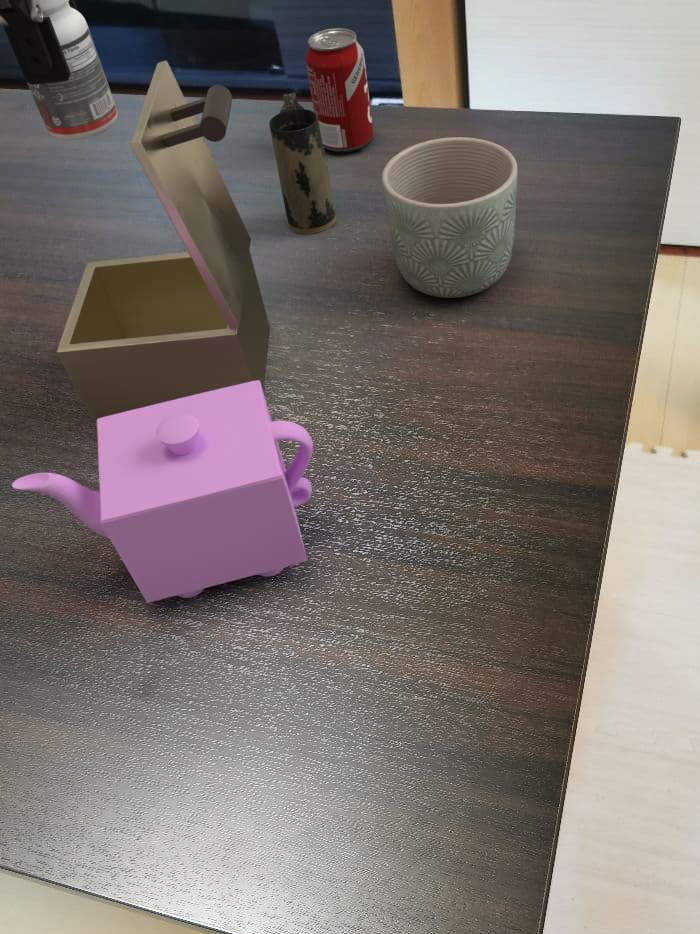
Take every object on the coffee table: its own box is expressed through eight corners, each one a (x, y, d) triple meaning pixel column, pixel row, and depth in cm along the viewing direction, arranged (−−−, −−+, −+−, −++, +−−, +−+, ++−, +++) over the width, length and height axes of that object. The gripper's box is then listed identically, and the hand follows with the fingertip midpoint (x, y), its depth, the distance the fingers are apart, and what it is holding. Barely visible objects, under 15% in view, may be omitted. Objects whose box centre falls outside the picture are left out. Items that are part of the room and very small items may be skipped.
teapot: (318, 471, 69) (288, 350, 60) (344, 565, 63) (315, 446, 53) (76, 532, 67) (4, 418, 58) (78, 635, 61) (-3, 526, 51)
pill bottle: (43, 121, 68) (-15, -19, 60) (112, 102, 69) (63, -37, 61) (54, 150, 65) (-6, 6, 57) (126, 130, 66) (76, -15, 58)
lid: (129, 144, 55) (204, 120, 54) (157, 62, 63) (223, 40, 62) (230, 330, 67) (293, 313, 66) (243, 241, 75) (299, 225, 74)
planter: (407, 322, 81) (396, 217, 72) (383, 252, 88) (370, 150, 80) (531, 296, 81) (535, 190, 73) (496, 229, 89) (496, 126, 81)
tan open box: (97, 431, 75) (56, 352, 68) (121, 341, 83) (87, 262, 76) (261, 415, 74) (236, 334, 67) (269, 326, 82) (248, 245, 75)
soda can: (342, 162, 101) (326, 56, 92) (309, 145, 105) (290, 41, 95) (385, 140, 104) (373, 35, 94) (351, 124, 107) (336, 21, 98)
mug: (339, 230, 92) (321, 119, 83) (289, 238, 92) (265, 128, 82) (332, 193, 97) (314, 85, 88) (285, 201, 97) (262, 93, 87)
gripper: (-85, -282, 55) (35, 24, 69) (-186, -228, 44) (-20, 121, 58) (28, -297, 54) (125, 12, 68) (-46, -247, 44) (87, 108, 58)
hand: (58, 59), depth 63 cm, fingers closed on pill bottle, 5 cm apart
